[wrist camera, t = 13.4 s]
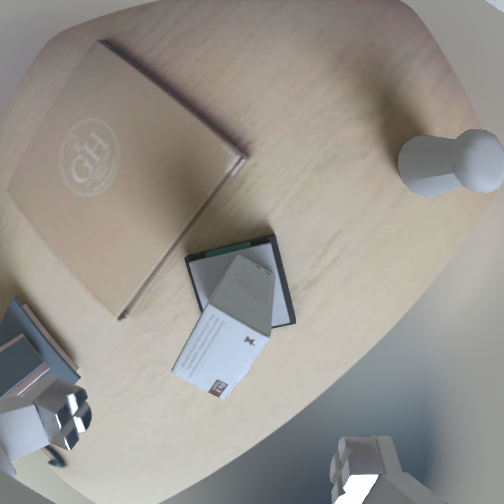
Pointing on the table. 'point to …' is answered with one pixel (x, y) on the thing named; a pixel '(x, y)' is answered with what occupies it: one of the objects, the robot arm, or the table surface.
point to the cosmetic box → (229, 329)
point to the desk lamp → (29, 353)
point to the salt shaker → (452, 163)
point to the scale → (219, 259)
